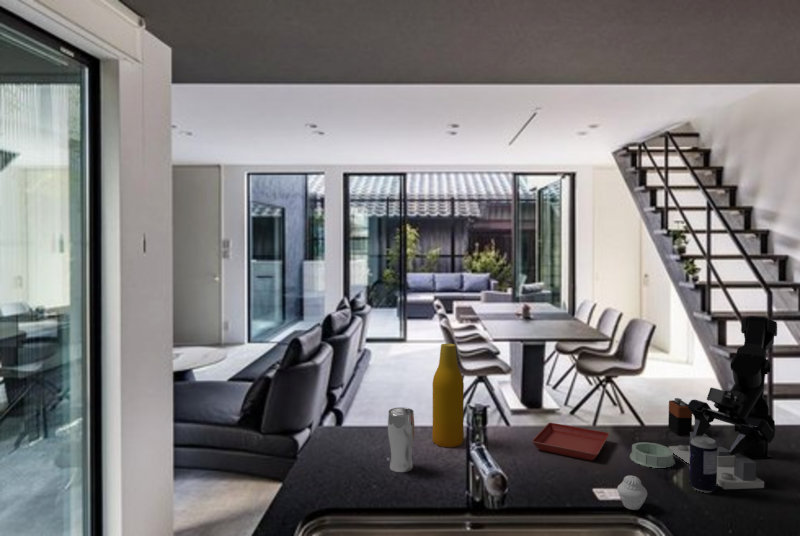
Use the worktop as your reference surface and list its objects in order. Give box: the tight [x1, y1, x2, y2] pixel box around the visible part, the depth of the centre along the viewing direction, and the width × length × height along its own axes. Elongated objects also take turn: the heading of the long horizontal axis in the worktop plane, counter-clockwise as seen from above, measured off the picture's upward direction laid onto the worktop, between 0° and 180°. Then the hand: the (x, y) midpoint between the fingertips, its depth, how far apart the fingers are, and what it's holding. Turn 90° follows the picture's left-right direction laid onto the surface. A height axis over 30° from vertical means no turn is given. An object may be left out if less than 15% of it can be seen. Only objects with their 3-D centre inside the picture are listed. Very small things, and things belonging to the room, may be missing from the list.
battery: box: [667, 397, 693, 436], centre depth 164 cm, size 4×7×10 cm, turn 176°
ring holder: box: [629, 442, 676, 469], centre depth 143 cm, size 11×11×3 cm
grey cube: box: [717, 446, 731, 456], centre depth 138 cm, size 3×3×3 cm
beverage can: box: [688, 436, 719, 494], centre depth 126 cm, size 6×6×12 cm
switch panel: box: [668, 431, 765, 490], centre depth 138 cm, size 23×10×6 cm, turn 4°
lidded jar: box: [617, 475, 648, 511], centre depth 118 cm, size 6×6×7 cm
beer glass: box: [387, 407, 415, 473], centre depth 139 cm, size 7×7×15 cm
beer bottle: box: [431, 343, 465, 448], centre depth 156 cm, size 9×9×29 cm
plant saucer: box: [531, 422, 610, 461], centre depth 153 cm, size 18×18×3 cm
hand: (711, 447), depth 127 cm, fingers open, 9 cm apart
